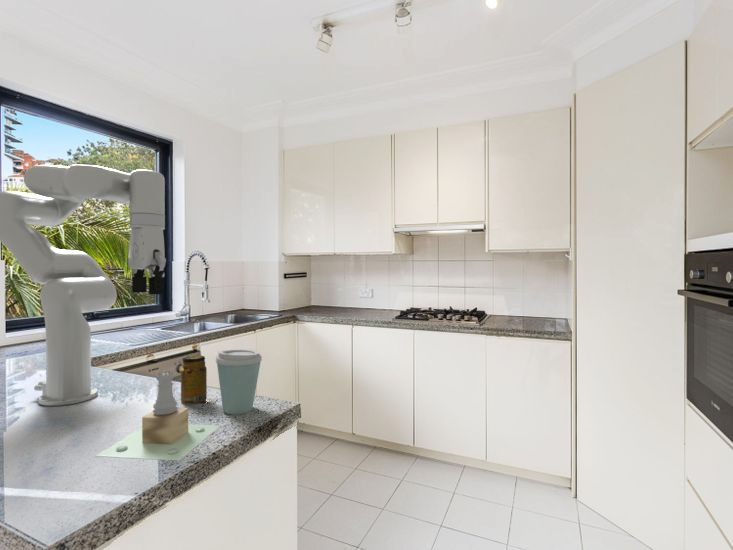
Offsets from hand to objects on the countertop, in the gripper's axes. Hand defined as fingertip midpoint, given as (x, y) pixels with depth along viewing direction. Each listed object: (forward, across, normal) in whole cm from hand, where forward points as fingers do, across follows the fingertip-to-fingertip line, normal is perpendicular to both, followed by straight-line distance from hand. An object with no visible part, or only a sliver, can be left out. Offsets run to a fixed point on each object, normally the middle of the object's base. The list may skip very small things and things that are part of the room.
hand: (147, 293), depth 99 cm
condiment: (+29, +5, +10) cm, 31 cm away
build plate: (+28, +23, -6) cm, 37 cm away
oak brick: (+28, +22, -5) cm, 36 cm away
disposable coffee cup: (+28, +19, +13) cm, 37 cm away
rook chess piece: (+23, +22, -5) cm, 32 cm away
